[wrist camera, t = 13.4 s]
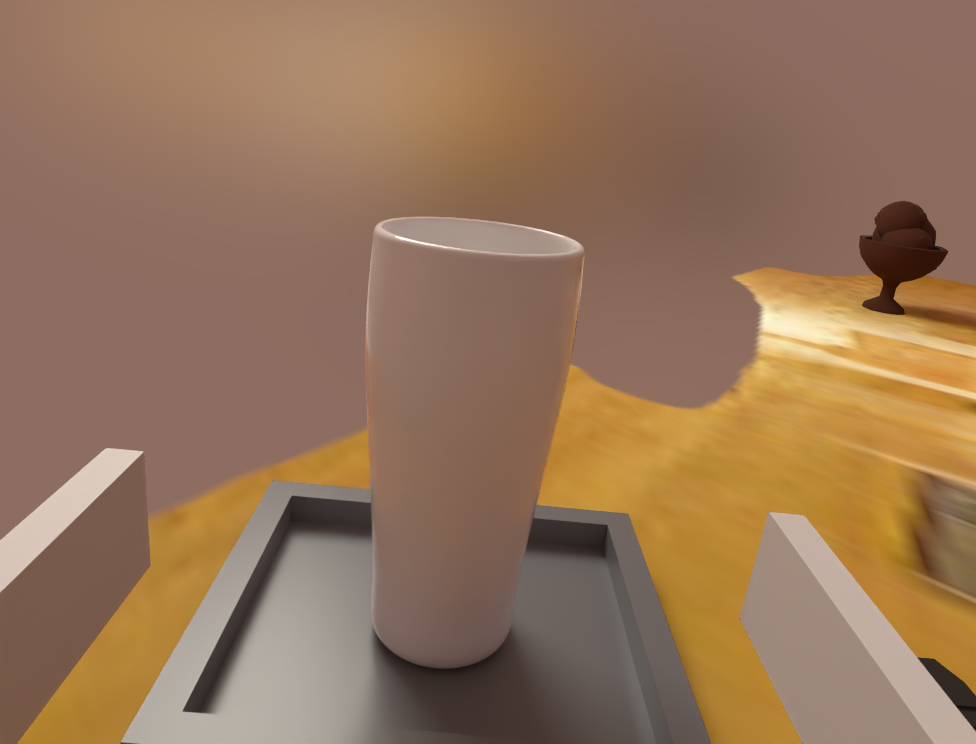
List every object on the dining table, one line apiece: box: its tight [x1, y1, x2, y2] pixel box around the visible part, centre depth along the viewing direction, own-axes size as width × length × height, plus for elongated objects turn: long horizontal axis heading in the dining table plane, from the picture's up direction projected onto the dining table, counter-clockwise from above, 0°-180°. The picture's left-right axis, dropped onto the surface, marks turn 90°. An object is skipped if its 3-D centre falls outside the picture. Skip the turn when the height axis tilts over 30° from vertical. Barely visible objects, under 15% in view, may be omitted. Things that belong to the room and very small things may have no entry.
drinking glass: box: [366, 217, 585, 669], centre depth 25 cm, size 7×7×15 cm
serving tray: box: [121, 480, 711, 744], centre depth 28 cm, size 17×15×2 cm
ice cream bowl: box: [859, 201, 948, 315], centre depth 100 cm, size 11×11×15 cm
